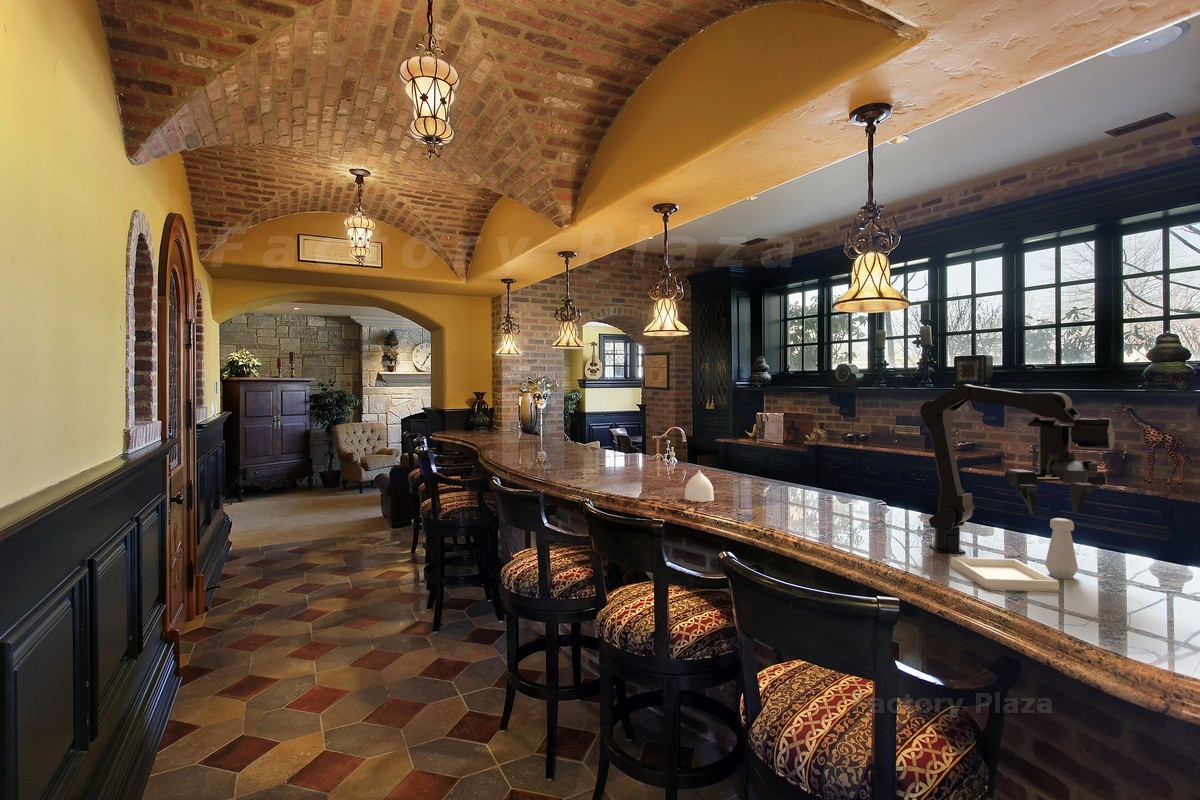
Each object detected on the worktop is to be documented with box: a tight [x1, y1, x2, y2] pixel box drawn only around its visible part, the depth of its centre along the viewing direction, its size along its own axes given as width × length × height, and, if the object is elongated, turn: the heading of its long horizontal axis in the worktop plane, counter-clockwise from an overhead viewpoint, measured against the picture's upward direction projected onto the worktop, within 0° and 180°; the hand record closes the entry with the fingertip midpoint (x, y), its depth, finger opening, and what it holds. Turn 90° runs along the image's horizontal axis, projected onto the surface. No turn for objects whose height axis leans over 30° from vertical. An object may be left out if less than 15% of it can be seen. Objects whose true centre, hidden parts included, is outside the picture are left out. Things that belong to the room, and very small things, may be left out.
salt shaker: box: [1044, 517, 1079, 580], centre depth 131 cm, size 6×6×13 cm
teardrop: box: [684, 469, 715, 502], centre depth 221 cm, size 11×11×12 cm
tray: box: [950, 556, 1060, 593], centre depth 130 cm, size 16×14×2 cm
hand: (1054, 514), depth 134 cm, fingers open, 9 cm apart
